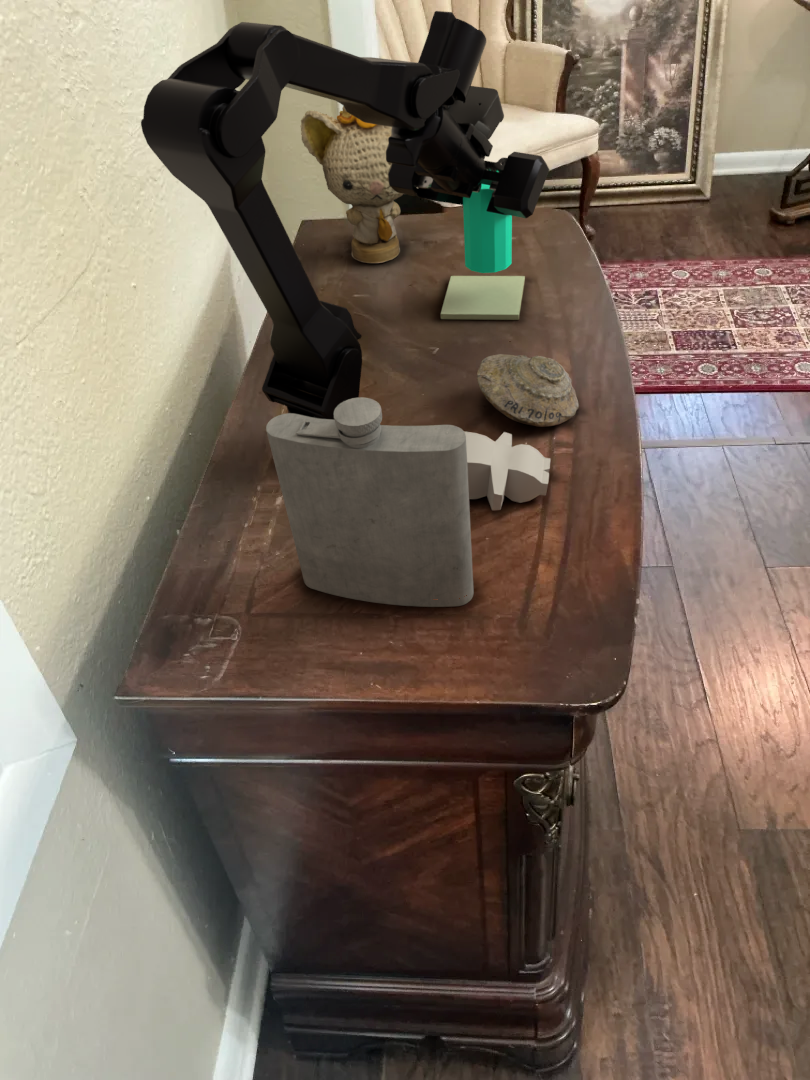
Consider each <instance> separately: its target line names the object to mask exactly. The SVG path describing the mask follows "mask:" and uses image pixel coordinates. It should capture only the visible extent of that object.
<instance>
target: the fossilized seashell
mask: <svg viewBox="0 0 810 1080" xmlns="http://www.w3.org/2000/svg"><path fill="white" fill-rule="evenodd" d="M476 382H477V384H478V387H479V389H480V391H481V393H482V394H483V396H484V397H485V399H486V400H487V401H488V402H489V403H490V404H491V405H492V407H494V408H495V410H497V411H498V412H500V414H503V415H504V416H505V417H507V418H508V419H510V420H512V421H514V422H516V423H521V424H524V425H529V426H534V427H538V428H539V427H540V428H541V427H542V428H545V427H554V426H559V425H562V424H563V423H565V422H567V421H569V420H571V419H572V418H573V417H574V416H575V415H576V413H577V410H579V407H580V405H579V404H580V403H579V401H578V398H577V393H576V390H575V388H574V387H573V385H572V383H573V381H572V378H571V377H570V374H569V373H568V372H567V371H566V370H565V368H564V366H562V364H560V363H559V362H558V361H556V359H553V358H551V357H545V356H543V355H534V356H532V357H528V356H527V355H525V354H523V355H520V354H518V355H513V354H504V353H497V354H493V355H489V356H487V357H484V358H483V359H482V361H481V362H480V364H479V366H478V369H477V372H476Z"/></svg>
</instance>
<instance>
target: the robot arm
mask: <svg viewBox="0 0 810 1080" xmlns="http://www.w3.org/2000/svg"><path fill="white" fill-rule="evenodd" d="M433 12H434V13H433V16H432V18H431V20H430V24H429V29H428V33H427V36H426V39H425V42H424V44H423V46H422V50H421V53H420V56H419V58H418V61H417V62H416V61H415V62H414V61H406V60H398V59H388V58H381V57H371V56H358V55H354V54H353V53H349V52H347V51H344V50H341V49H338V48H335V47H332V46H329V45H327V44H324V43H321V42H318V41H314V40H312V39H309V38H306V37H304V36H300V35H297V34H295V33H292V32H291V31H290V30H288V29H287V28H286V27H284V26H282V25H279V24H278V25H277V24H268V23H258V22H247V21H241V22H239V23H237V24H235V25H233V26H232V27H230V28H229V29H228V30H227V31H226V32H225V33H224V34H223V35H222V37H221V38H220V39H219V40H218V41H217V42H216V43H215V44H213V45H211V46H209V47H208V48H206V49H205V50H203V51H201V52H199V53H198V54H196V55H195V56H193V57H192V58H191V57H190V59H188V60H186V61H185V62H182V63H181V64H180V65H179V66H178V67H176V69H175V70H174V71H173V72H172V73H171V74H170V76H168V77H167V78H166V79H162V80H160V81H158V82H157V83H156V84H155V85H153V87H152V88H151V90H150V91H149V93H148V94H147V96H146V98H145V103H144V106H143V116H142V119H141V120H140V127H141V131H142V134H143V136H144V137H143V138H144V140H145V141H146V144H147V145H148V147H149V148H150V150H151V151H152V152H153V153H154V154H155V156H156V158H158V159H159V161H160V162H161V163H162V164H163V165H164V167H165V168H166V169H167V170H168V172H169V173H170V174H171V175H172V176H173V177H174V178H175V179H176V180H178V181H179V182H180V183H182V184H183V185H184V186H185V187H187V188H188V189H189V190H191V192H193V193H194V194H195V195H196V196H197V197H199V198H200V199H201V200H202V201H203V202H204V203H205V204H206V206H208V209H209V210H210V212H211V214H212V215H213V217H214V219H215V221H216V223H217V225H218V226H219V229H220V230H221V231H222V233H223V235H224V237H225V239H226V240H227V242H228V244H229V246H230V248H231V249H232V251H233V253H234V255H235V257H236V258H237V261H238V262H239V264H240V266H241V267H242V269H243V271H244V272H245V274H246V276H247V278H248V280H249V281H250V283H251V285H252V287H253V289H254V290H255V293H256V294H257V296H258V298H259V299H260V301H261V303H262V305H263V306H264V308H265V310H266V313H267V314H268V316H269V318H270V319H271V322H272V326H271V331H270V335H269V344H270V347H271V349H272V352H273V356H272V359H271V361H270V365H269V368H268V370H267V373H266V375H265V379H264V382H263V385H262V388H261V390H262V393H263V395H265V397H266V398H267V400H268V401H269V402H270V403H271V402H272V403H277V404H279V405H282V406H284V407H286V409H287V413H294V414H299V415H303V416H308V417H313V418H318V419H331V420H334V410H335V408H336V407H337V406H338V405H339V404H340V403H342V402H344V401H346V400H348V399H352V398H360V390H361V378H362V368H363V351H362V347H361V343H360V341H359V340H360V339H362V336H363V335H362V334H361V333H360V332H359V331H357V328H356V326H355V325H354V321H353V320H354V319H353V317H352V314H351V312H350V311H349V310H348V309H347V307H345V306H341V305H338V304H334V303H330V302H327V301H323V300H320V299H319V297H318V295H317V293H316V291H315V289H314V286H313V285H312V283H311V280H310V278H309V276H308V274H307V272H306V270H305V267H304V266H303V263H302V262H301V259H300V257H299V255H298V253H297V251H296V249H295V247H294V245H293V242H292V240H291V238H290V237H289V234H288V233H287V230H286V228H285V226H284V224H283V222H282V220H281V218H280V216H279V214H278V212H277V210H276V207H275V206H274V205H275V204H274V203H273V201H272V199H271V197H270V195H269V193H268V191H267V189H266V187H265V184H264V182H263V172H264V165H265V158H266V145H265V143H264V139H263V136H264V134H266V132H268V130H269V129H270V128H271V126H272V125H273V124H274V123H275V121H276V120H277V118H278V113H279V107H280V101H281V95H282V91H283V90H284V88H288V89H291V90H295V91H299V92H303V93H307V94H310V95H314V96H317V97H320V98H323V99H328V100H331V101H335V102H337V103H339V104H340V105H342V107H343V106H344V108H345V110H346V112H348V113H350V114H351V115H353V116H355V117H356V118H358V119H359V120H361V121H363V122H365V123H370V124H377V125H383V126H389V127H392V129H391V136H390V137H389V138H388V142H389V144H388V147H387V149H386V161H387V162H389V163H391V166H390V169H389V171H388V182H389V186H391V187H392V188H393V189H394V190H395V191H396V192H398V193H402V194H403V195H407V196H413V197H415V196H417V197H418V198H419V199H422V200H429V201H433V202H439V203H446V204H452V205H461V206H463V197H466V198H470V197H471V194H472V192H476V193H478V192H480V190H481V187H482V184H485V185H490V188H489V189H490V190H491V191H493V193H492V197H491V200H490V202H489V205H488V208H487V210H486V211H487V212H492V213H497V214H502V215H512V217H517V218H522V219H528V218H530V217H531V216H533V215H534V212H535V210H536V207H537V204H538V201H539V200H540V196H541V193H542V191H543V188H544V186H545V183H546V180H547V177H548V174H549V172H550V168H549V166H548V164H547V162H546V161H545V159H544V158H543V157H542V155H539V154H532V153H526V152H521V151H513V152H512V153H510V154H508V155H507V157H501V158H499V159H498V161H490V160H485V158H489V157H490V156H491V153H492V150H493V148H494V146H493V144H492V143H491V141H490V139H491V138H492V136H493V135H494V133H495V131H496V129H497V128H498V126H499V125H500V123H502V122H503V120H504V119H505V114H504V109H503V106H502V102H501V98H500V95H499V91H498V90H497V89H495V88H491V87H483V86H476V85H472V83H473V80H474V79H475V75H476V73H477V70H478V67H479V64H480V61H481V59H482V56H483V53H484V50H485V47H486V45H487V37H486V35H485V33H484V32H483V31H482V30H481V29H478V28H476V27H475V26H473V25H472V24H471V23H468V22H467V21H464V20H462V19H460V18H457V17H456V16H455V13H453V12H452V11H444V10H443V11H442V10H435V11H433ZM246 80H248V81H246ZM245 81H246V83H245V84H244V85H243V83H244V82H245ZM242 85H243V86H242ZM240 86H242V88H240V90H237V89H238V88H239V87H240ZM490 170H491V171H490ZM496 171H498V172H496Z"/></svg>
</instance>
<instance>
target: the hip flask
mask: <svg viewBox="0 0 810 1080" xmlns="http://www.w3.org/2000/svg"><path fill="white" fill-rule="evenodd" d="M382 421H383V413H382V406H381V405H380V403H379V402H378V401H376V400H375V399H373V398H370V397H363V396H361V397H360V396H359V398H352V399H348V400H346V401H344V402H342V403H340V404H339V405H338V406H337V407H336V408H335V410H334V420H331V419H318V418H313V417H308V416H303V415H299V414H294V413H288V412H287V413H281V414H279V415H277V416H276V415H275V416H274V417H273V418H271V419H270V420H269V421H268V422H267V423H266V426H265V431H266V434H267V435H266V436H267V439H268V443H269V447H270V450H271V455H272V459H273V464H274V466H275V470H276V475H277V479H278V483H279V487H280V490H281V491H280V492H281V494H282V499H283V503H284V507H285V511H286V515H287V519H288V524H289V527H290V530H291V535H292V539H293V542H294V546H295V551H296V554H297V555H296V556H297V559H298V564H299V567H300V570H301V574H302V579H303V583H304V584H305V585H306V587H308V588H310V589H311V590H315V591H318V592H322V593H325V594H329V595H332V596H337V597H341V598H346V599H350V600H356V601H361V602H367V603H368V602H370V603H376V604H383V605H384V604H385V605H392V606H403V607H404V606H406V607H422V608H423V607H424V608H425V607H427V608H446V607H449V608H450V607H451V608H452V607H461V606H464V605H467V604H468V603H469V602H470V601H472V599H473V597H474V593H475V592H474V591H475V590H474V573H473V571H474V570H473V551H472V532H471V512H470V511H471V510H470V509H471V507H470V499H469V488H468V468H467V448H466V434H465V432H466V431H464V430H463V428H461V427H459V426H456V425H453V424H435V425H434V424H433V425H388V424H387V425H386V424H381V423H382ZM466 595H467V596H466ZM464 596H465V597H464ZM459 598H460V599H459ZM433 599H438V600H433Z"/></svg>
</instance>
